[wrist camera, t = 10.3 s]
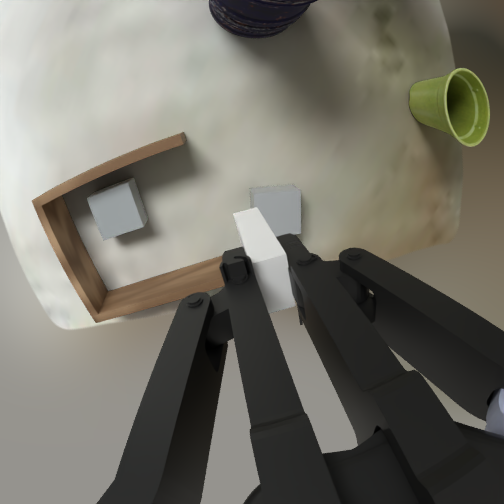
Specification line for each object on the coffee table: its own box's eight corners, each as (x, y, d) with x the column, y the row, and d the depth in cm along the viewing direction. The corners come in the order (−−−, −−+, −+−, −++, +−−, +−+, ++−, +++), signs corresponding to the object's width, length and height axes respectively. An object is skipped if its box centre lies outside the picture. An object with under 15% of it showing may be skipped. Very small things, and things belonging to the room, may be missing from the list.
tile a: (95, 191, 29) (86, 198, 26) (134, 176, 29) (127, 182, 26) (110, 230, 31) (103, 240, 28) (148, 217, 31) (143, 226, 29)
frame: (52, 188, 27) (31, 200, 23) (183, 132, 28) (180, 133, 23) (105, 299, 34) (95, 323, 30) (226, 262, 35) (230, 284, 31)
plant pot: (453, 112, 31) (497, 119, 23) (421, 149, 33) (466, 162, 25) (423, 59, 27) (468, 55, 19) (386, 93, 29) (432, 93, 21)
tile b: (249, 187, 32) (253, 194, 29) (292, 183, 32) (300, 189, 30) (252, 229, 34) (256, 239, 31) (293, 224, 35) (300, 233, 32)
